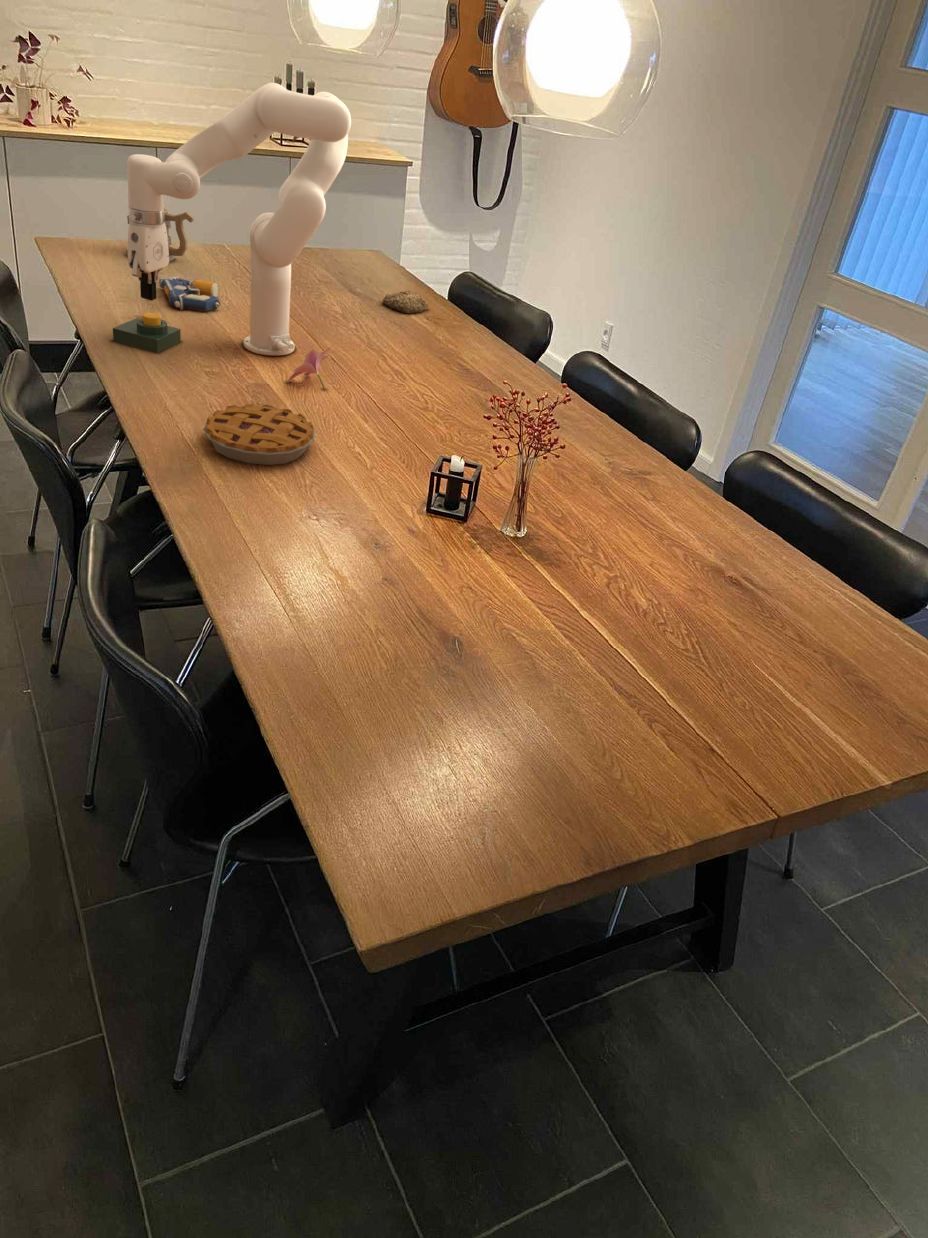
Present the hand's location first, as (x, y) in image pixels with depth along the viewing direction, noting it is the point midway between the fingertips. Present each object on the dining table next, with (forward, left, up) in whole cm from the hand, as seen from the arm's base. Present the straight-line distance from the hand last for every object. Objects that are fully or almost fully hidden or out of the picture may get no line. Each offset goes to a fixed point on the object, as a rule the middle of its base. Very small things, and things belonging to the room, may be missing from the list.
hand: (148, 298), depth 218 cm
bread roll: (+4, -84, -11) cm, 85 cm away
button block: (+1, 0, -11) cm, 11 cm away
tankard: (+63, -36, -11) cm, 73 cm away
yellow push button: (0, 0, -6) cm, 6 cm away
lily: (-36, -22, -11) cm, 43 cm away
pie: (-59, +6, -11) cm, 60 cm away
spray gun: (+26, -26, -11) cm, 38 cm away
